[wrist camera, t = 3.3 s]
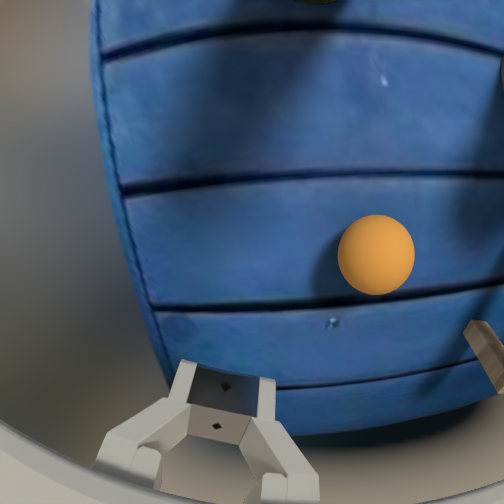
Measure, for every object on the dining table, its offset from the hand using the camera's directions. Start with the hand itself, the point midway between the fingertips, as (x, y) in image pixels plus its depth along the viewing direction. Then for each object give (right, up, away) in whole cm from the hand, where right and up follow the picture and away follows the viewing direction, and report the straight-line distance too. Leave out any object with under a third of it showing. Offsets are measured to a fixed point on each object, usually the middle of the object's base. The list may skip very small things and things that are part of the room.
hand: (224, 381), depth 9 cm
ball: (+10, +4, +13) cm, 17 cm away
